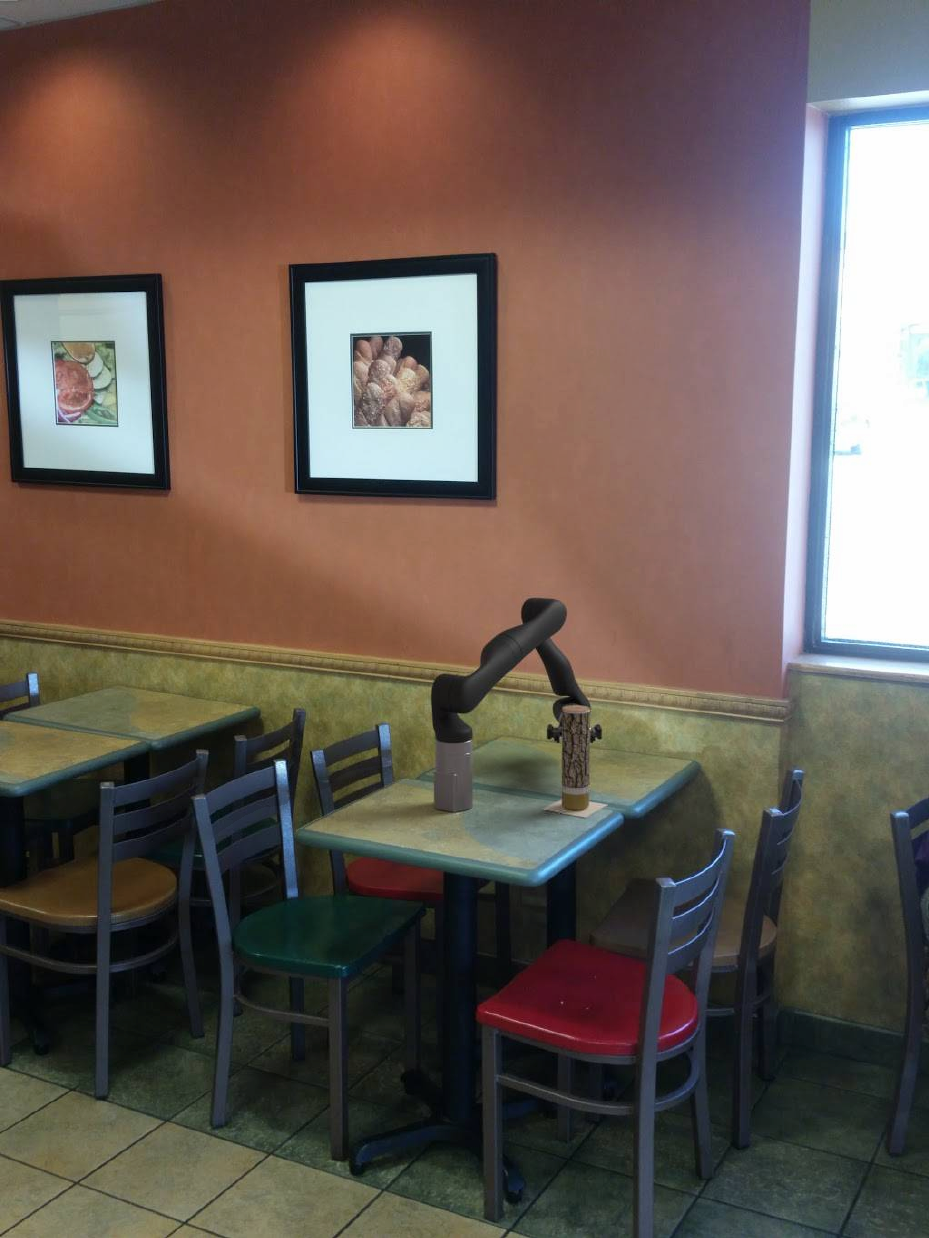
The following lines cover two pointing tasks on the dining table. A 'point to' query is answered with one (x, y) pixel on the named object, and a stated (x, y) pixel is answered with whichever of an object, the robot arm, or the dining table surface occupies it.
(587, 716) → the brown bark cylinder
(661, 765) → the dining table surface
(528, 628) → the robot arm
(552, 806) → the card
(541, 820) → the dining table surface
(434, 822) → the dining table surface
